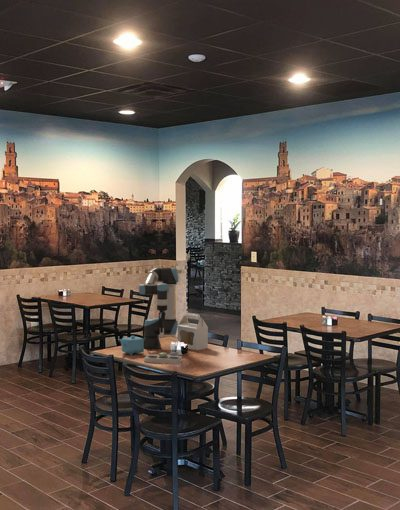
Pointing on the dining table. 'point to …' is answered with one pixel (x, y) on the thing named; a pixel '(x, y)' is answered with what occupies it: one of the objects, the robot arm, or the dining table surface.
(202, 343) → the gable box
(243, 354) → the dining table surface
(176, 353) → the slate blue button
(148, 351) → the terracotta button
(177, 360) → the button board
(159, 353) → the sage green button
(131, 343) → the teapot
